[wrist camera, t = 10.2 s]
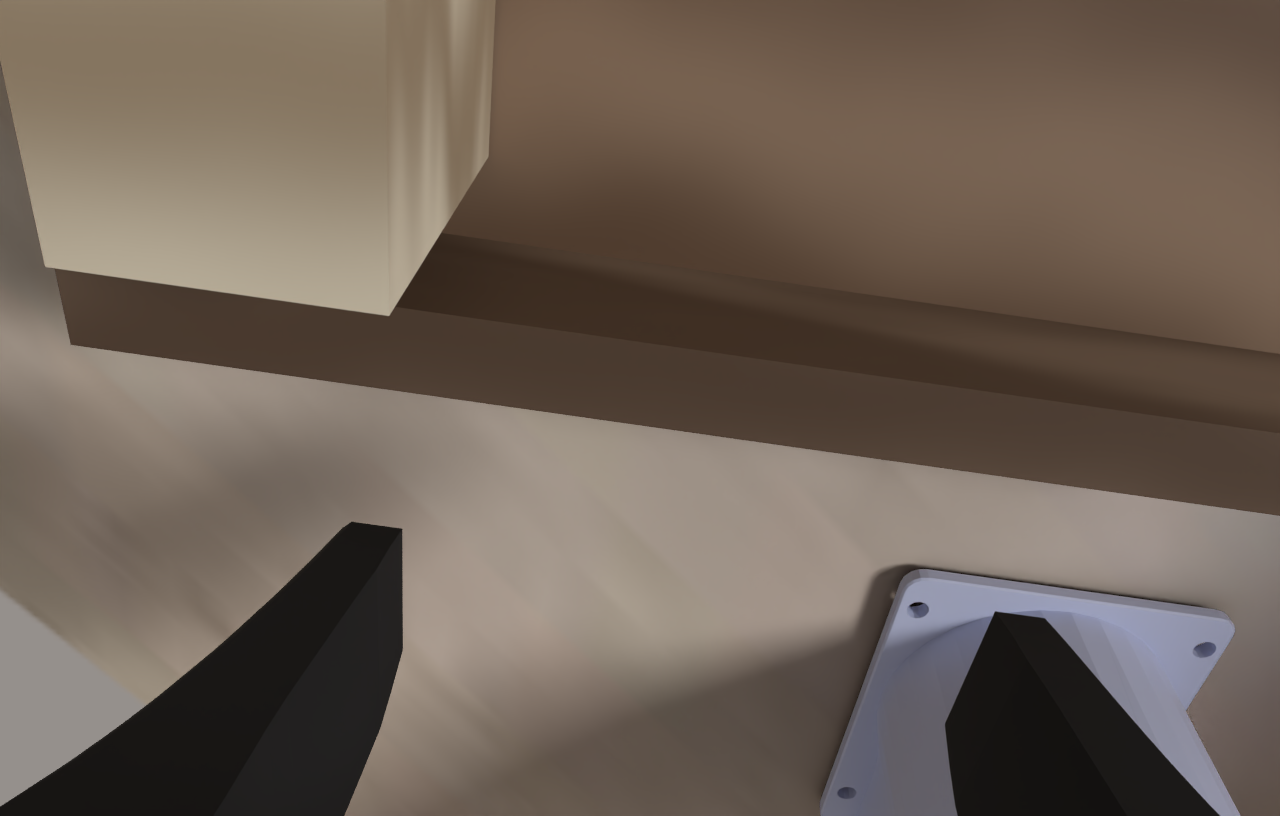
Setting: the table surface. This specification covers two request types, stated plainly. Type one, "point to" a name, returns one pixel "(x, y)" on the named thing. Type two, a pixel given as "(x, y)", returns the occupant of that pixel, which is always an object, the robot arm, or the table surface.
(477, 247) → the board
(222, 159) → the beige block with rod
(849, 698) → the table surface
